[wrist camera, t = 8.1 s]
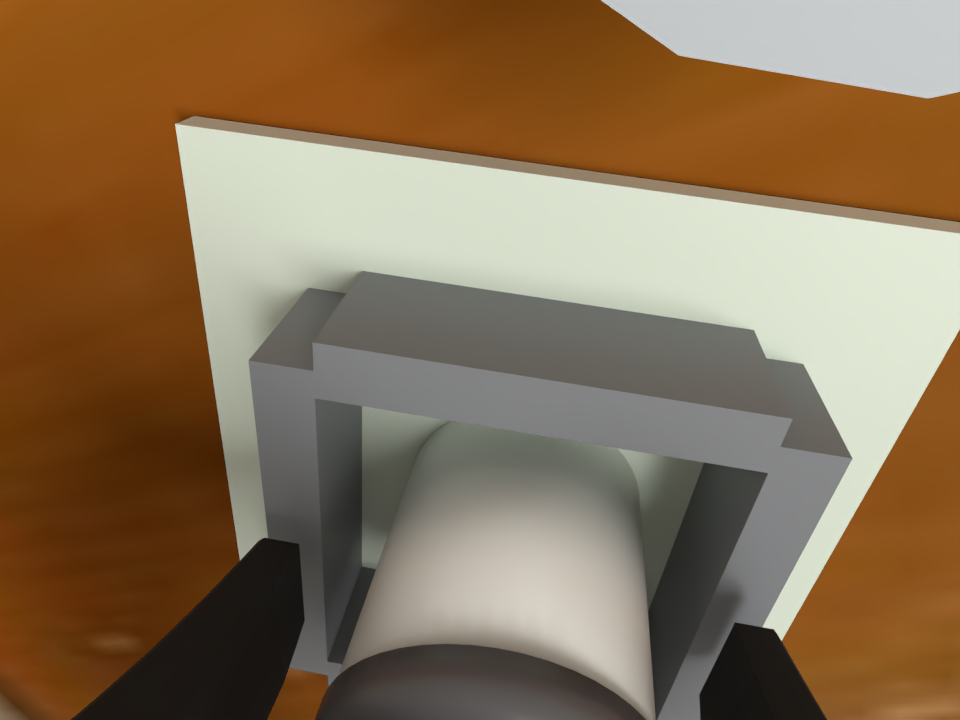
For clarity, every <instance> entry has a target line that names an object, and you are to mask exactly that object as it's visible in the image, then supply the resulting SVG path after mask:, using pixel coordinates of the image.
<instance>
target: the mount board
mask: <svg viewBox="0 0 960 720" xmlns="http://www.w3.org/2000/svg"><path fill="white" fill-rule="evenodd" d="M175 126H176V133H177V140H178V146H179V153H180V160H181V167H182V173H183V180H184V187H185V194H186V200H187V207H188V214H189V221H190V227H191V234H192V241H193V248H194V254H195V261H196V268H197V275H198V281H199V288H200V295H201V302H202V308H203V315H204V322H205V329H206V336H207V342H208V349H209V356H210V363H211V369H212V376H213V383H214V390H215V396H216V403H217V410H218V417H219V423H220V430H221V437H222V444H223V450H224V457H225V464H226V471H227V477H228V484H229V491H230V498H231V504H232V511H233V518H234V525H235V531H236V538H237V545H238V552H239V558H240V560H241V559H242V558H243V557H244V556H245V555H246V554H247V553H248V552H249V551H250V549H251V548H252V547H253V546H254V545H255V544H256V543H257V542H258V541H259V540H261V539H263V538H270V539H275V540H281V541H286V542H292V543H297V544H299V548H300V562H301V576H302V589H303V603H304V617H305V621H304V624H303V627H302V630H301V633H300V637H299V640H298V643H297V646H296V649H295V652H294V655H293V657H292V660H291V663H290V666H289V668H292V669H297V670H302V671H307V672H313V673H318V674H323V675H328V687H329V686H330V684H331V683H332V682H333V681H334V680H335V678H336V677H337V676H338V675H339V672H340V669H341V667H342V664H343V661H344V658H345V655H346V653H347V650H348V647H349V644H350V641H351V638H352V636H353V633H354V630H355V627H356V624H357V622H358V619H359V616H360V613H361V610H362V608H363V605H364V602H365V599H366V596H367V593H368V591H369V588H370V585H371V582H372V579H373V577H374V574H375V571H376V568H377V565H378V563H379V560H380V557H381V554H382V551H383V549H384V546H385V543H386V540H387V537H388V534H389V532H390V529H391V526H392V523H393V520H394V518H395V515H396V512H397V509H398V506H399V504H400V501H401V498H402V495H403V492H404V489H405V487H406V484H407V481H408V478H409V475H410V473H411V470H412V467H413V464H414V461H415V459H416V457H417V455H418V453H419V450H420V449H421V448H422V446H423V445H424V443H425V442H426V441H427V439H428V438H429V437H430V436H431V435H432V434H433V433H434V432H435V431H437V430H438V429H439V428H441V427H442V426H443V425H445V424H446V423H448V422H450V421H455V422H461V423H467V424H473V425H480V426H486V427H492V428H498V429H504V430H510V431H516V432H522V433H528V434H534V435H540V436H546V437H552V438H558V439H564V440H571V441H577V442H583V443H589V444H595V445H601V446H607V447H613V448H618V450H619V451H620V452H621V453H622V454H623V456H624V457H625V458H626V460H627V461H628V463H629V465H630V466H631V468H632V470H633V473H634V475H635V478H636V480H637V484H638V489H639V496H640V509H641V523H642V537H643V550H644V564H645V578H646V591H647V605H648V619H649V632H650V646H651V660H652V673H653V687H654V700H655V714H656V720H701V719H700V700H699V694H700V692H701V690H702V688H703V686H704V684H705V682H706V680H707V678H708V676H709V674H710V672H711V670H712V668H713V666H714V664H715V662H716V660H717V658H718V656H719V654H720V652H721V650H722V648H723V646H724V644H725V642H726V640H727V638H728V636H729V633H730V631H731V629H732V627H733V625H734V623H735V622H736V623H742V624H747V625H753V626H758V627H764V628H769V629H774V630H775V632H776V633H777V634H778V636H779V638H780V639H781V641H782V639H783V637H784V636H785V634H786V632H787V630H788V629H789V627H790V625H791V623H792V622H793V620H794V618H795V616H796V615H797V613H798V611H799V609H800V608H801V606H802V604H803V602H804V601H805V599H806V597H807V595H808V594H809V592H810V590H811V588H812V587H813V585H814V583H815V581H816V580H817V578H818V576H819V574H820V573H821V571H822V569H823V567H824V566H825V564H826V562H827V560H828V559H829V557H830V555H831V553H832V552H833V550H834V548H835V546H836V545H837V543H838V541H839V539H840V538H841V536H842V534H843V532H844V531H845V529H846V527H847V525H848V524H849V522H850V520H851V518H852V517H853V515H854V513H855V511H856V510H857V508H858V506H859V504H860V503H861V501H862V499H863V497H864V496H865V494H866V492H867V490H868V489H869V487H870V485H871V483H872V482H873V480H874V478H875V476H876V475H877V473H878V471H879V469H880V468H881V466H882V464H883V462H884V461H885V459H886V457H887V455H888V454H889V452H890V450H891V448H892V447H893V445H894V443H895V441H896V440H897V438H898V436H899V434H900V433H901V431H902V429H903V427H904V426H905V424H906V422H907V420H908V419H909V417H910V415H911V413H912V412H913V410H914V408H915V406H916V405H917V403H918V401H919V399H920V398H921V396H922V394H923V392H924V391H925V389H926V387H927V385H928V384H929V382H930V380H931V378H932V377H933V375H934V373H935V371H936V370H937V368H938V366H939V364H940V363H941V361H942V359H943V357H944V356H945V354H946V352H947V350H948V349H949V347H950V345H951V343H952V342H953V340H954V338H955V336H956V335H957V333H958V331H959V329H960V222H955V221H947V220H940V219H933V218H926V217H919V216H911V215H904V214H897V213H890V212H882V211H875V210H868V209H861V208H854V207H846V206H839V205H832V204H825V203H818V202H810V201H803V200H796V199H789V198H782V197H774V196H767V195H760V194H753V193H746V192H738V191H731V190H724V189H717V188H709V187H702V186H695V185H688V184H681V183H673V182H666V181H659V180H652V179H645V178H637V177H630V176H623V175H616V174H609V173H601V172H594V171H587V170H580V169H572V168H565V167H558V166H551V165H544V164H536V163H529V162H522V161H515V160H508V159H500V158H493V157H486V156H479V155H472V154H464V153H457V152H450V151H443V150H435V149H428V148H421V147H414V146H407V145H399V144H392V143H385V142H378V141H371V140H363V139H356V138H349V137H342V136H335V135H327V134H320V133H313V132H306V131H299V130H291V129H284V128H277V127H270V126H262V125H255V124H248V123H241V122H234V121H226V120H219V119H212V118H205V117H198V116H193V117H190V118H188V119H186V120H183V121H181V122H179V123H176V124H175Z"/></svg>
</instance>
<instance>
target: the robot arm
mask: <svg viewBox="0 0 960 720" xmlns="http://www.w3.org/2000/svg"><path fill="white" fill-rule="evenodd" d="M304 621H305V617H304V603H303V589H302V576H301V562H300V548H299V544H297V543H292V542H286V541H281V540H275V539H270V538H263V539H261V540H259V541H258V542H257V543H256V544H255V545H254V546H253V547H252V548H251V549H250V551H249V552H248V553H247V554H246V555H245V556H244V557H243V558H242V559H241V560H240V561H239V562H238V563H237V564H236V566H235V567H234V568H233V569H232V570H231V571H230V572H229V573H228V574H227V575H226V576H225V577H224V578H223V579H222V580H221V581H220V582H219V583H218V584H217V585H216V587H215V588H214V589H213V590H212V591H211V592H210V593H209V594H208V595H207V596H206V597H205V598H204V599H203V600H202V601H201V602H200V603H199V604H198V605H197V606H196V607H195V608H194V609H193V610H192V611H191V612H190V613H189V614H188V615H187V616H186V617H184V618H183V619H182V620H181V621H180V622H179V623H178V624H177V625H176V626H175V627H174V628H173V629H172V630H171V631H170V632H169V633H168V634H167V635H166V636H165V637H164V638H163V639H162V640H161V641H160V642H159V643H158V644H157V645H155V646H154V647H153V648H152V649H151V650H150V651H149V652H148V653H147V654H146V655H145V656H144V657H142V658H141V659H140V660H139V661H138V662H137V663H136V664H135V665H133V666H132V667H131V668H130V669H129V670H128V671H127V672H126V673H124V674H123V675H122V676H121V677H120V678H119V679H118V680H117V681H115V682H114V683H113V684H112V685H111V686H110V687H109V688H108V689H106V690H105V691H104V692H103V693H102V694H101V695H100V696H99V697H97V698H96V699H95V700H94V701H93V702H92V703H90V704H89V705H88V706H87V707H86V708H84V709H83V710H82V711H81V712H80V713H78V714H77V715H76V716H75V717H74V718H72V719H71V720H267V718H268V716H269V714H270V711H271V709H272V707H273V705H274V703H275V701H276V698H277V696H278V694H279V692H280V690H281V687H282V685H283V683H284V680H285V677H286V675H287V672H288V669H289V666H290V663H291V660H292V657H293V655H294V652H295V649H296V646H297V643H298V640H299V637H300V633H301V630H302V627H303V624H304ZM699 700H700V719H701V720H827V719H826V717H825V715H824V714H823V712H822V710H821V709H820V707H819V705H818V704H817V702H816V700H815V698H814V697H813V695H812V693H811V692H810V690H809V688H808V686H807V685H806V683H805V681H804V680H803V678H802V676H801V674H800V673H799V671H798V669H797V667H796V666H795V664H794V662H793V660H792V659H791V657H790V655H789V653H788V652H787V650H786V648H785V646H784V645H783V643H782V641H781V639H780V638H779V636H778V634H777V633H776V632H775V630H774V629H769V628H764V627H758V626H753V625H747V624H742V623H736V622H735V623H734V625H733V627H732V629H731V631H730V633H729V636H728V638H727V640H726V642H725V644H724V646H723V648H722V650H721V652H720V654H719V656H718V658H717V660H716V662H715V664H714V666H713V668H712V670H711V672H710V674H709V676H708V678H707V680H706V682H705V684H704V686H703V688H702V690H701V692H700V694H699Z"/></svg>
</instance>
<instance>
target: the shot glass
mask: <svg viewBox="0 0 960 720" xmlns="http://www.w3.org/2000/svg"><path fill="white" fill-rule="evenodd" d="M601 1H603V2H604V3H605V4H607V5H608V6H610V7H611V8H612V9H614V10H615V11H617V12H618V13H620V14H621V15H622V16H624V17H625V18H627V19H628V20H629V21H631V22H632V23H634V24H635V25H636V26H638V27H639V28H641V29H642V30H643V31H645V32H646V33H648V34H649V35H650V36H652V37H653V38H655V39H656V40H657V41H659V42H660V43H662V44H663V45H664V46H666V47H667V48H669V49H670V50H672V51H673V52H674V53H676V54H677V55H679V56H684V57H690V58H696V59H702V60H708V61H713V62H719V63H725V64H731V65H737V66H742V67H748V68H754V69H760V70H766V71H772V72H777V73H783V74H789V75H795V76H801V77H807V78H812V79H818V80H824V81H830V82H836V83H842V84H847V85H853V86H859V87H865V88H871V89H877V90H882V91H888V92H894V93H900V94H906V95H912V96H917V97H923V98H933V97H937V96H942V95H947V94H951V93H956V92H960V0H601Z"/></svg>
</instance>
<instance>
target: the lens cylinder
mask: <svg viewBox="0 0 960 720" xmlns="http://www.w3.org/2000/svg"><path fill="white" fill-rule="evenodd" d="M315 720H656V714H655V700H654V687H653V673H652V660H651V646H650V632H649V619H648V605H647V591H646V578H645V564H644V550H643V537H642V523H641V509H640V496H639V489H638V484H637V480H636V478H635V475H634V473H633V470H632V468H631V466H630V465H629V463H628V461H627V460H626V458H625V457H624V456H623V454H622V453H621V452H620V451H619V450H618V448H613V447H607V446H601V445H595V444H589V443H583V442H577V441H571V440H564V439H558V438H552V437H546V436H540V435H534V434H528V433H522V432H516V431H510V430H504V429H498V428H492V427H486V426H480V425H473V424H467V423H461V422H455V421H450V422H448V423H446V424H445V425H443V426H442V427H441V428H439V429H438V430H437V431H435V432H434V433H433V434H432V435H431V436H430V437H429V438H428V439H427V441H426V442H425V443H424V445H423V446H422V448H421V449H420V450H419V453H418V455H417V457H416V459H415V461H414V464H413V467H412V470H411V473H410V475H409V478H408V481H407V484H406V487H405V489H404V492H403V495H402V498H401V501H400V504H399V506H398V509H397V512H396V515H395V518H394V520H393V523H392V526H391V529H390V532H389V534H388V537H387V540H386V543H385V546H384V549H383V551H382V554H381V557H380V560H379V563H378V565H377V568H376V571H375V574H374V577H373V579H372V582H371V585H370V588H369V591H368V593H367V596H366V599H365V602H364V605H363V608H362V610H361V613H360V616H359V619H358V622H357V624H356V627H355V630H354V633H353V636H352V638H351V641H350V644H349V647H348V650H347V653H346V655H345V658H344V661H343V664H342V667H341V669H340V672H339V675H338V676H337V677H336V678H335V680H334V681H333V682H332V683H331V684H330V686H329V687H328V689H327V691H326V693H325V695H324V697H323V699H322V702H321V705H320V707H319V710H318V713H317V715H316V718H315Z"/></svg>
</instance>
